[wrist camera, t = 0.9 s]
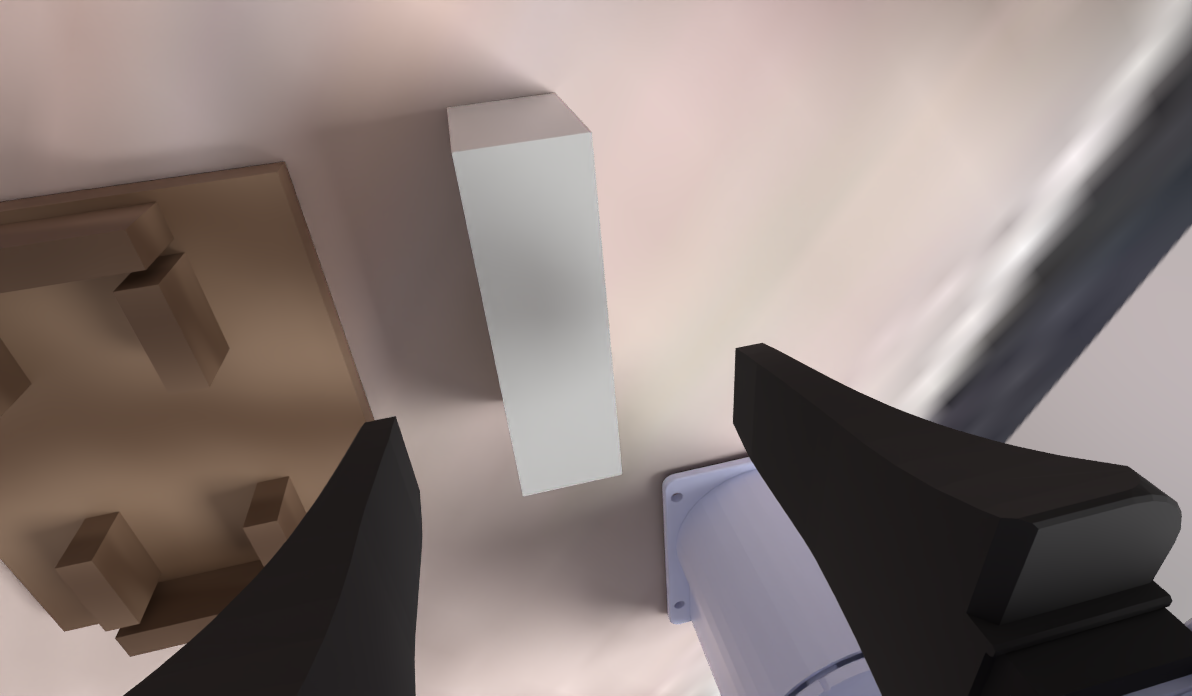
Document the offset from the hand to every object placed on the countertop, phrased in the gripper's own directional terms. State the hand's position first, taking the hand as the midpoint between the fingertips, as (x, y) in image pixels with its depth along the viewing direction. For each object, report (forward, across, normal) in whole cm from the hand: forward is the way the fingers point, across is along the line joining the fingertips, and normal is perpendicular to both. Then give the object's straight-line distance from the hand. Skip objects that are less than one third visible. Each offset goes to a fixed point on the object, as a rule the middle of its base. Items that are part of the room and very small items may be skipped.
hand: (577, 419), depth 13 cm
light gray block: (+8, 0, 0) cm, 8 cm away
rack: (+8, +12, +3) cm, 15 cm away
